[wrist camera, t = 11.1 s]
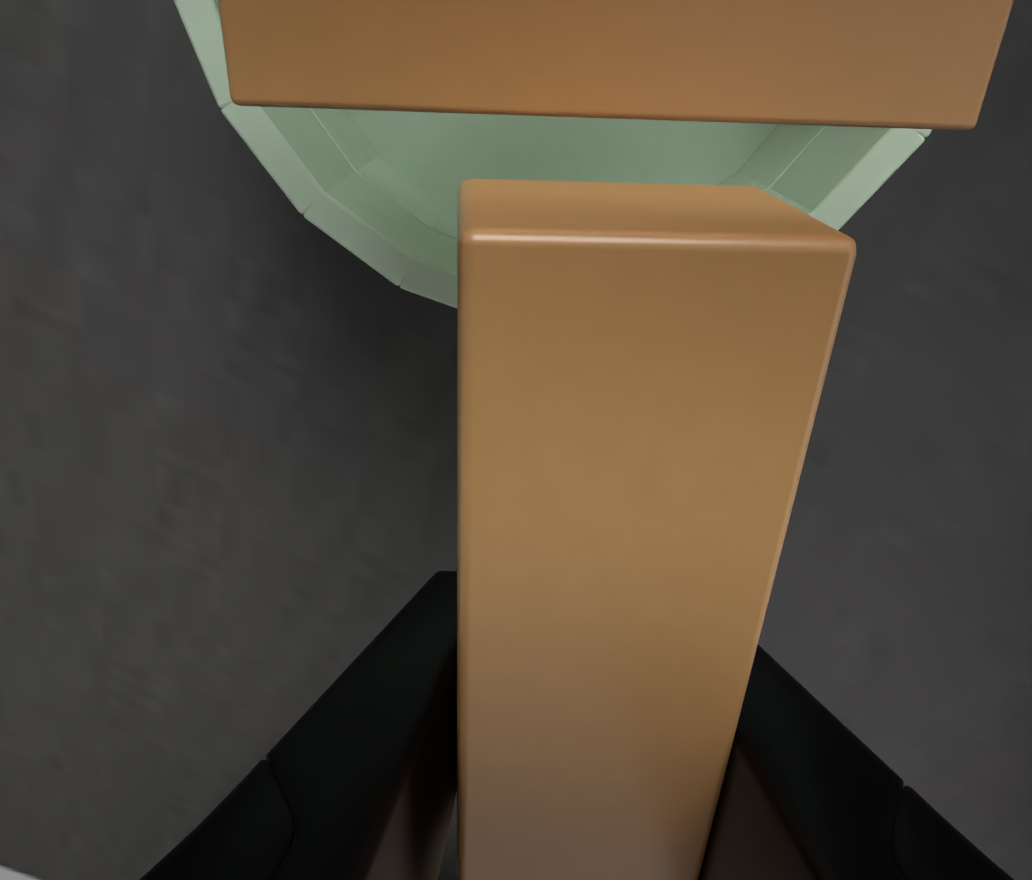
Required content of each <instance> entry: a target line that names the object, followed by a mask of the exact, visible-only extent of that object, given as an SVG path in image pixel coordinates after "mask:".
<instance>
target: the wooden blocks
mask: <svg viewBox="0 0 1032 880" xmlns="http://www.w3.org/2000/svg"><path fill="white" fill-rule="evenodd" d="M1013 1H1014V0H218V5H219V13H220V21H221V29H222V36H223V44H224V52H225V59H226V67H227V75H228V83H229V90H230V97H231V99H232V101H233V103H234V104H236V105H239V106H259V107H289V108H318V109H348V110H377V111H407V112H436V113H466V114H495V115H524V116H554V117H583V118H613V119H642V120H672V121H701V122H731V123H760V124H789V125H819V126H848V127H878V128H907V129H937V130H969V129H972V128H974V126H975V125H976V123H977V120H978V116H979V113H980V110H981V107H982V103H983V100H984V97H985V93H986V90H987V87H988V84H989V80H990V77H991V74H992V70H993V67H994V64H995V61H996V57H997V54H998V51H999V47H1000V44H1001V41H1002V38H1003V34H1004V31H1005V28H1006V24H1007V21H1008V18H1009V15H1010V11H1011V8H1012V5H1013ZM855 258H856V243H855V240H854V239H853V238H851V237H849V236H847V235H845V234H843V233H841V232H839V231H838V230H836V229H834V228H832V227H830V226H828V225H826V224H825V223H823V222H821V221H819V220H817V219H815V218H813V217H812V216H810V215H808V214H806V213H804V212H802V211H800V210H798V209H797V208H795V207H793V206H791V205H789V204H787V203H785V202H784V201H782V200H780V199H778V198H776V197H774V196H772V195H771V194H769V193H767V192H765V191H763V190H761V189H759V188H757V187H755V186H729V185H693V184H656V183H619V182H582V181H545V180H509V179H472V178H470V179H468V180H465V181H463V182H461V184H460V187H459V189H458V192H457V880H698V878H699V874H700V870H701V866H702V862H703V858H704V854H705V850H706V846H707V842H708V838H709V834H710V830H711V826H712V822H713V818H714V815H715V811H716V807H717V803H718V799H719V795H720V791H721V787H722V783H723V779H724V775H725V771H726V767H727V763H728V759H729V755H730V751H731V747H732V743H733V739H734V736H735V732H736V728H737V724H738V720H739V716H740V712H741V708H742V704H743V700H744V696H745V692H746V688H747V684H748V680H749V676H750V672H751V668H752V664H753V661H754V657H755V653H756V649H757V645H758V641H759V637H760V633H761V629H762V625H763V621H764V617H765V613H766V609H767V605H768V601H769V597H770V593H771V589H772V586H773V582H774V578H775V574H776V570H777V566H778V562H779V558H780V554H781V550H782V546H783V542H784V538H785V534H786V530H787V526H788V522H789V518H790V514H791V510H792V507H793V503H794V499H795V495H796V491H797V487H798V483H799V479H800V475H801V471H802V467H803V463H804V459H805V455H806V451H807V447H808V443H809V439H810V435H811V432H812V428H813V424H814V420H815V416H816V412H817V408H818V404H819V400H820V396H821V392H822V388H823V384H824V380H825V376H826V372H827V368H828V364H829V360H830V356H831V353H832V349H833V345H834V341H835V337H836V333H837V329H838V325H839V321H840V317H841V313H842V309H843V305H844V301H845V297H846V293H847V289H848V285H849V281H850V278H851V274H852V270H853V266H854V262H855Z"/></svg>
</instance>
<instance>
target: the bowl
mask: <svg viewBox="0 0 1032 880" xmlns="http://www.w3.org/2000/svg"><path fill="white" fill-rule="evenodd" d="M174 2H175V5H176V7H177V10H178V12H179V14H180V17H181V19H182V21H183V24H184V26H185V29H186V31H187V33H188V36H189V38H190V41H191V43H192V45H193V48H194V50H195V52H196V55H197V57H198V60H199V62H200V64H201V67H202V69H203V71H204V74H205V76H206V79H207V81H208V83H209V86H210V88H211V90H212V93H213V95H214V98H215V100H216V102H217V105H218V106H219V107H220V108H222V113H223V115H224V116H225V117H226V119H227V120H228V121H229V123H230V124H231V125H232V126H233V128H234V129H235V130H236V132H237V133H238V134H239V135H240V137H241V138H242V139H243V141H244V142H245V143H246V145H247V146H248V147H249V148H250V150H251V151H252V152H253V154H254V155H255V156H256V157H257V159H258V160H259V161H260V163H261V164H262V165H263V167H264V168H265V169H266V170H267V172H268V173H269V174H270V176H271V177H272V178H273V179H274V181H275V182H276V183H277V185H278V186H279V187H280V189H281V190H282V191H283V192H284V194H285V195H286V196H287V198H288V199H289V200H290V201H291V203H292V204H293V205H294V207H295V208H296V209H297V211H298V212H299V213H301V214H304V217H305V219H307V220H308V221H309V222H311V223H312V224H313V225H315V226H316V227H317V228H319V229H320V230H321V231H323V232H324V233H325V234H327V235H328V236H330V237H331V238H332V239H334V240H335V241H336V242H338V243H339V244H340V245H342V246H343V247H344V248H346V249H347V250H349V251H350V252H351V253H353V254H354V255H355V256H357V257H358V258H359V259H361V260H362V261H363V262H365V263H366V264H367V265H369V266H370V267H372V268H373V269H374V270H376V271H377V272H378V273H380V274H381V275H382V276H384V277H385V278H386V279H388V280H389V281H390V282H392V283H393V284H395V285H397V286H399V285H400V288H401V289H403V290H406V291H409V292H412V293H415V294H417V295H420V296H423V297H426V298H429V299H431V300H434V301H437V302H440V303H443V304H445V305H448V306H451V307H454V308H457V192H458V189H459V187H460V184H461V182H463V181H465V180H468V179H470V178H472V179H509V180H545V181H582V182H619V183H656V184H693V185H729V186H755V187H757V188H759V189H761V190H763V191H765V192H767V193H769V194H771V195H772V196H774V197H776V198H778V199H780V200H782V201H784V202H785V203H787V204H789V205H791V206H793V207H795V208H797V209H798V210H800V211H802V212H804V213H806V214H808V215H810V216H812V217H813V218H815V219H817V220H819V221H821V222H823V223H825V224H826V225H828V226H830V227H832V228H834V229H836V230H839V229H840V228H841V227H842V226H843V225H844V224H845V223H846V222H847V221H848V220H849V219H850V218H851V217H852V216H853V215H854V214H855V213H856V211H857V210H858V209H859V208H860V207H861V206H862V205H863V204H864V203H865V202H866V201H867V200H868V199H869V198H870V197H871V196H872V195H873V194H874V193H875V192H876V191H877V190H878V189H879V188H880V187H881V186H882V185H883V184H884V183H885V181H886V180H887V179H888V178H889V177H890V176H891V175H892V174H893V173H894V172H895V171H896V170H897V169H898V168H899V167H900V166H901V165H902V164H903V163H904V162H905V161H906V160H907V159H908V158H909V157H910V156H911V155H912V154H913V152H914V151H915V150H916V149H917V148H918V147H919V146H920V145H921V144H922V143H923V142H924V140H925V139H924V138H925V137H928V136H929V134H930V133H931V131H932V129H907V128H878V127H848V126H819V125H789V124H760V123H731V122H701V121H672V120H642V119H613V118H583V117H554V116H524V115H495V114H466V113H436V112H407V111H377V110H348V109H318V108H289V107H259V106H239V105H236V104H234V103H233V101H232V99H231V97H230V90H229V83H228V75H227V67H226V59H225V52H224V44H223V36H222V29H221V21H220V13H219V5H218V0H174Z"/></svg>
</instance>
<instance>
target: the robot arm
mask: <svg viewBox="0 0 1032 880" xmlns="http://www.w3.org/2000/svg"><path fill="white" fill-rule="evenodd" d="M903 784H904V783H903V780H902V779H901V778H900V777H899V776H898V775H897V774H896V773H895V772H894V771H893V770H891V769H890V768H889V767H888V766H887V765H886V764H885V763H884V762H883V761H882V760H881V759H880V758H879V757H878V756H877V755H875V754H874V753H873V752H872V751H871V750H870V749H869V748H868V747H867V746H866V745H865V744H864V743H863V742H862V741H860V740H859V739H858V738H857V737H856V736H855V735H854V734H853V733H852V732H851V731H850V730H849V729H848V728H847V727H846V726H844V725H843V724H842V723H841V722H840V721H839V720H838V719H837V718H836V717H835V716H834V715H833V714H832V713H831V712H830V711H828V710H827V709H826V708H825V707H824V706H823V705H822V704H821V703H820V702H819V701H818V700H817V699H816V698H815V697H813V696H812V695H811V694H810V693H809V692H808V691H807V690H806V689H805V688H804V687H803V686H802V685H801V684H800V683H799V682H797V681H796V680H795V679H794V678H793V677H792V676H791V675H790V674H789V673H788V672H787V671H786V670H785V669H784V668H783V667H781V666H780V665H779V664H778V663H777V662H776V661H775V660H774V659H773V658H772V657H771V656H770V655H769V654H768V653H766V652H765V651H764V650H763V649H762V648H761V647H760V646H759V645H757V649H756V653H755V657H754V661H753V664H752V668H751V672H750V676H749V680H748V684H747V688H746V692H745V696H744V700H743V704H742V708H741V712H740V716H739V720H738V724H737V728H736V732H735V736H734V739H733V743H732V747H731V751H730V755H729V759H728V763H727V767H726V771H725V775H724V779H723V783H722V787H721V791H720V795H719V799H718V803H717V807H716V811H715V815H714V818H713V822H712V826H711V830H710V834H709V838H708V842H707V846H706V850H705V854H704V858H703V862H702V866H701V870H700V874H699V878H698V880H1014V879H1013V878H1012V877H1010V876H1009V875H1008V874H1007V873H1006V872H1004V871H1003V870H1002V869H1001V868H1000V867H998V866H997V865H996V864H995V863H994V862H992V861H991V860H990V859H989V858H988V857H987V856H986V855H984V854H983V853H982V852H981V851H980V850H979V849H978V848H977V847H976V846H974V845H973V844H972V843H971V842H970V841H969V840H968V839H967V838H966V837H964V836H963V835H962V834H961V833H960V832H959V831H958V830H957V829H956V828H954V827H953V826H952V825H951V824H950V823H949V822H948V821H947V820H945V819H944V818H943V817H942V816H941V815H940V814H939V813H938V812H937V811H936V810H935V809H934V808H932V807H931V806H930V805H929V804H928V803H927V802H926V801H925V800H924V799H923V798H922V797H921V796H920V795H919V794H917V793H916V792H915V791H914V790H913V789H912V788H911V787H909V786H905V787H903ZM456 791H457V571H438V572H436V573H435V574H434V575H433V576H432V577H431V578H430V579H429V580H428V581H427V583H426V584H425V585H424V586H423V587H422V588H421V589H420V590H419V591H418V592H417V593H416V594H415V595H414V597H413V598H412V599H411V600H410V601H409V602H408V603H407V604H406V605H405V606H404V607H403V608H402V609H401V611H400V612H399V613H398V614H397V615H396V616H395V617H394V618H393V619H392V620H391V621H390V622H389V623H388V625H387V626H386V627H385V628H384V629H383V630H382V631H381V632H380V633H379V634H378V635H377V636H376V637H375V639H374V640H373V641H372V642H371V643H370V644H369V645H368V646H367V647H366V648H365V649H364V650H363V651H362V653H361V654H360V655H359V656H358V657H357V658H356V659H355V660H354V661H353V662H352V663H351V664H350V665H349V667H348V668H347V669H346V670H345V671H344V672H343V673H342V674H341V675H340V676H339V677H338V678H337V679H336V680H335V682H334V683H333V684H332V685H331V686H330V687H329V688H328V689H327V690H326V691H325V692H324V693H323V694H322V696H321V697H320V698H319V699H318V700H317V701H316V702H315V703H314V704H313V705H312V706H311V707H310V708H309V710H308V711H307V712H306V713H305V714H304V715H303V716H302V717H301V718H300V719H299V720H298V721H297V722H296V724H295V725H294V726H293V727H292V728H291V729H290V730H289V731H288V732H287V733H286V734H285V735H284V736H283V738H282V739H281V740H280V741H279V742H278V743H277V744H276V745H275V746H274V747H273V748H272V749H271V750H270V752H269V753H268V754H267V755H266V760H261V761H260V762H259V763H258V764H257V765H256V766H255V767H254V768H253V769H252V770H251V772H250V773H249V774H248V775H247V776H246V777H245V778H244V779H243V780H242V781H241V782H240V783H239V784H238V785H237V787H236V788H235V789H234V790H233V791H232V792H231V793H230V794H229V795H228V796H227V797H226V798H225V799H224V800H223V801H222V802H221V803H220V804H219V805H218V806H217V807H216V808H215V809H214V810H213V811H212V812H211V813H210V814H209V815H208V816H207V817H206V818H205V819H204V820H203V821H202V822H201V823H200V824H199V825H198V826H197V827H196V828H195V829H194V830H193V831H192V832H191V833H190V834H189V835H188V836H186V837H185V838H184V839H183V840H182V841H181V842H180V843H179V844H178V845H177V846H176V847H175V848H173V849H172V850H171V851H170V852H169V853H168V854H167V855H166V856H165V857H164V858H163V859H162V860H160V861H159V862H158V863H157V864H156V865H155V866H154V867H153V868H152V869H151V870H150V871H149V872H147V873H146V874H145V875H144V876H143V877H142V878H141V879H140V880H438V879H439V874H440V869H441V864H442V859H443V855H444V850H445V845H446V840H447V835H448V830H449V825H450V820H451V815H452V810H453V806H454V801H455V796H456Z"/></svg>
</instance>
